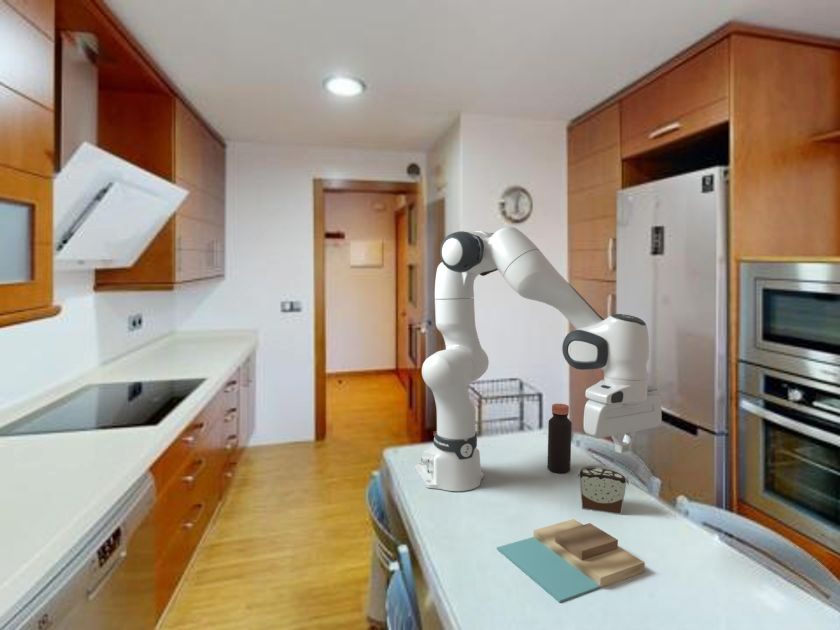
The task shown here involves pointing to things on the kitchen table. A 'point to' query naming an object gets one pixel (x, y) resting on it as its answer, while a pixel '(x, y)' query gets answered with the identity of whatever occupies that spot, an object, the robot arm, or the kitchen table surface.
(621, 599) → the kitchen table surface
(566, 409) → the bottle
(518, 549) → the mat
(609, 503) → the cake slice
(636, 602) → the kitchen table surface
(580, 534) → the tile
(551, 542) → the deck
